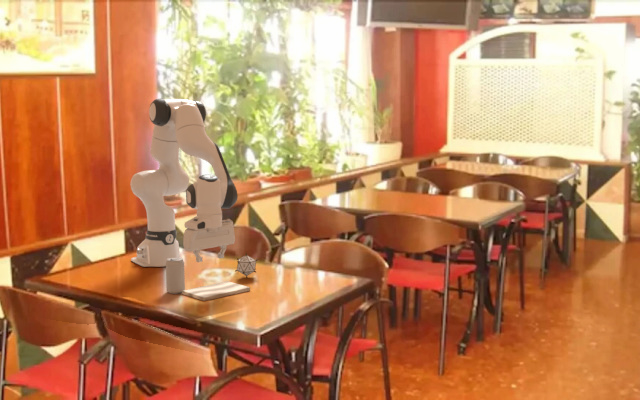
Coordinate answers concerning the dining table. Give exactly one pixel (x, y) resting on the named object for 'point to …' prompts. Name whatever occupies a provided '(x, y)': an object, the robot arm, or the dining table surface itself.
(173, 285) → the beverage can
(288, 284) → the dining table surface
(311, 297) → the dining table surface
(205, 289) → the board
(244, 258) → the game die
